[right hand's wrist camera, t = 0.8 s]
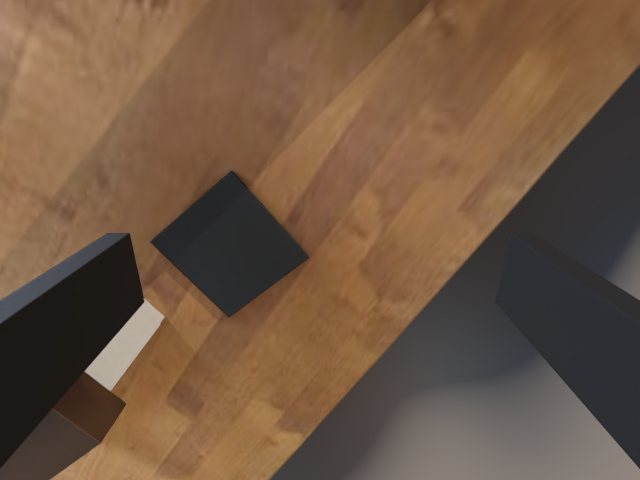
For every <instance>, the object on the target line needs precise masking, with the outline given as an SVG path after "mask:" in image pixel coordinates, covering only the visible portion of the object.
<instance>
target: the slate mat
mask: <svg viewBox="0 0 640 480" xmlns="http://www.w3.org/2000/svg"><path fill="white" fill-rule="evenodd" d="M151 243H152V244H153V245H154V246H155V247H156V248H157V249H158V250H159V251H160V252H161V253H162V254H163V255H164V256H165V257H166V258H167V259H168V260H169V261H171V262H172V263H173V264H174V265H175V266H176V267H177V268H178V269H179V270H180V271H181V272H182V273H183V274H184V275H185V276H186V277H187V278H188V279H189V280H190V281H191V282H192V283H193V284H195V285H196V286H197V287H198V288H199V289H200V290H201V291H202V292H203V293H204V294H205V295H206V296H207V297H208V298H209V299H210V300H211V301H212V302H213V303H214V304H215V305H216V306H217V307H219V308H220V309H221V310H222V311H223V312H224V313H225V314H226V315H227V316H228V317H230V316H231V315H233V314H234V313H236V312H237V311H238V310H240V309H241V308H242V307H244V306H245V305H246V304H248V303H249V302H250V301H252V300H253V299H254V298H256V297H257V296H258V295H260V294H261V293H262V292H264V291H265V290H266V289H268V288H269V287H270V286H272V285H273V284H274V283H276V282H277V281H278V280H280V279H281V278H283V277H284V276H285V275H287V274H288V273H289V272H291V271H292V270H293V269H295V268H296V267H297V266H299V265H300V264H301V263H303V262H304V261H305V260H307V259H308V258H309V256H308V255H307V254H306V253H305V252H304V251H303V250H302V249H301V248H300V246H299V245H298V244H297V243H296V242H295V241H294V240H293V239H292V237H291V236H290V235H289V234H288V233H287V232H286V231H285V230H284V228H283V227H282V226H281V225H280V224H279V223H278V222H277V221H276V219H275V218H274V217H273V216H272V215H271V214H270V213H269V212H268V210H267V209H266V208H265V207H264V206H263V205H262V204H261V203H260V201H259V200H258V199H257V198H256V197H255V196H254V195H253V194H252V192H251V191H250V190H249V189H248V188H247V187H246V186H245V185H244V183H243V182H242V181H241V180H240V179H239V178H238V177H237V176H236V174H235V173H234V172H233V171H231V172H229V173H228V174H227V175H226V176H225V177H224V178H223V179H221V180H220V181H219V182H218V183H217V184H216V185H215V186H213V187H212V188H211V189H210V190H209V191H208V192H207V193H206V194H204V195H203V196H202V197H201V198H200V199H199V200H198V201H196V202H195V203H194V204H193V205H192V206H191V207H190V208H188V209H187V210H186V211H185V212H184V213H183V214H182V215H180V216H179V217H178V218H177V219H176V220H175V221H174V222H172V223H171V224H170V225H169V226H168V227H167V228H166V229H164V230H163V231H162V232H161V233H160V234H159V235H158V236H156V237H155V238H154V239H153V240H152V241H151Z"/></svg>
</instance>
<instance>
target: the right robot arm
mask: <svg viewBox="0 0 640 480" xmlns="http://www.w3.org/2000/svg"><path fill="white" fill-rule="evenodd" d="M143 303H144V297H143V293H142V288H141V283H140V279H139V274H138V270H137V265H136V260H135V256H134V251H133V246H132V242H131V237H130V233H107V234H105V235H104V236H102V237H100V238H99V239H97V240H96V241H94V242H93V243H91V244H89V245H88V246H86V247H85V248H83V249H81V250H80V251H78V252H77V253H75V254H73V255H72V256H70V257H69V258H67V259H65V260H64V261H62V262H61V263H59V264H58V265H56V266H54V267H53V268H51V269H50V270H48V271H46V272H45V273H43V274H42V275H40V276H38V277H37V278H35V279H34V280H32V281H31V282H29V283H27V284H26V285H24V286H23V287H21V288H19V289H18V290H16V291H15V292H13V293H11V294H10V295H8V296H7V297H5V298H3V299H2V300H0V468H1V467H2V466H3V465H4V464H5V463H6V462H7V460H8V459H9V458H10V457H11V456H12V455H13V453H14V452H15V451H16V450H17V449H18V448H19V446H20V445H21V444H22V443H23V442H24V441H25V440H26V438H27V437H28V436H29V435H30V434H31V433H32V431H33V430H34V429H35V428H36V427H37V426H38V425H39V423H40V422H41V421H42V420H43V419H44V418H45V416H46V415H47V414H48V413H49V412H50V411H51V410H52V408H53V407H54V406H55V405H56V404H57V403H58V401H59V400H60V399H61V398H62V397H63V396H64V395H65V393H66V392H67V391H68V390H69V389H70V388H71V386H72V385H73V384H74V383H75V382H76V381H77V380H78V378H79V377H80V376H81V375H82V374H83V373H84V371H85V370H86V369H87V368H88V367H89V366H90V364H91V363H92V362H93V361H94V360H95V359H96V358H97V356H98V355H99V354H100V353H101V352H102V351H103V349H104V348H105V347H106V346H107V345H108V344H109V343H110V341H111V340H112V339H113V338H114V337H115V336H116V334H117V333H118V332H119V331H120V330H121V329H122V328H123V326H124V325H125V324H126V323H127V322H128V321H129V319H130V318H131V317H132V316H133V315H134V314H135V313H136V311H137V310H138V309H139V308H140V307H141V306H142V304H143ZM496 303H497V304H498V306H499V307H500V308H501V309H502V310H503V311H504V313H505V314H506V315H507V316H508V317H509V318H510V319H511V321H512V322H513V323H514V324H515V325H516V326H517V327H518V329H519V330H520V331H521V332H522V333H523V334H524V336H525V337H526V338H527V339H528V340H529V341H530V343H531V344H532V345H533V346H534V347H535V348H536V349H537V351H538V352H539V353H540V354H541V355H542V356H543V358H544V359H545V360H546V361H547V362H548V363H549V364H550V366H551V367H552V368H553V369H554V370H555V371H556V373H557V374H558V375H559V376H560V377H561V378H562V380H563V381H564V382H565V383H566V384H567V385H568V386H569V388H570V389H571V390H572V391H573V392H574V393H575V395H576V396H577V397H578V398H579V399H580V400H581V401H582V403H583V404H584V405H585V406H586V407H587V408H588V410H589V411H590V412H591V413H592V414H593V415H594V416H595V418H596V419H597V420H598V421H599V422H600V423H601V425H602V426H603V427H604V428H605V429H606V430H607V431H608V433H609V434H610V435H611V436H612V437H613V438H614V440H615V441H616V442H617V443H618V444H619V445H620V447H621V448H622V449H623V450H624V451H625V452H626V453H627V455H628V456H629V457H630V458H631V459H632V460H633V461H634V463H635V464H636V465H637V466H638V467H639V468H640V300H638V299H636V298H635V297H633V296H632V295H630V294H628V293H627V292H625V291H624V290H622V289H621V288H619V287H617V286H616V285H614V284H613V283H611V282H609V281H608V280H606V279H605V278H603V277H602V276H600V275H598V274H597V273H595V272H594V271H592V270H590V269H589V268H587V267H586V266H584V265H582V264H581V263H579V262H578V261H576V260H574V259H573V258H571V257H570V256H568V255H567V254H565V253H563V252H562V251H560V250H559V249H557V248H555V247H554V246H552V245H551V244H549V243H547V242H546V241H544V240H543V239H541V238H539V237H538V236H536V235H535V234H533V233H510V237H509V242H508V246H507V251H506V256H505V261H504V265H503V270H502V274H501V279H500V284H499V288H498V293H497V297H496Z"/></svg>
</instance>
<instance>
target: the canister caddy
mask: <svg viewBox="0 0 640 480" xmlns="http://www.w3.org/2000/svg"><path fill="white" fill-rule="evenodd" d="M164 318H165V316H163V315H162V314H161V313H160V312H159V311H158V310H157V309H156V308H155V307H153V306H152V305H151V304H150V303H149V302H148V301H147V300H146V299H144V303H143V304H142V306H141V307H140V308H139V309H138V310H137V311H136V313H135V314H134V315H133V316H132V317H131V318H130V319H129V321H128V322H127V323H126V324H125V325H124V326H123V328H122V329H121V330H120V331H119V332H118V333H117V334H116V336H115V337H114V338H113V339H112V340H111V341H110V343H109V344H108V345H107V346H106V347H105V348H104V349H103V351H102V352H101V353H100V354H99V355H98V356H97V358H96V359H95V360H94V361H93V362H92V363H91V364H90V366H89V367H88V368H87V369H86V370H85V372H86V373H87V374H89V375H90V376H91V377H92V378H94V379H95V380H96V381H98V382H99V383H100V384H102V385H103V386H104V387H105V388H107V389H108V390H109V391H111V390H112V389H113V387H114V386H115V385H116V383H117V382H118V381H119V379H120V378H121V377H122V375H123V374H124V373H125V371H126V370H127V369H128V367H129V366H130V365H131V363H132V362H133V361H134V359H135V358H136V357H137V355H138V354H139V353H140V351H141V350H142V349H143V347H144V346H145V345H146V343H147V342H148V341H149V339H150V338H151V337H152V335H153V334H154V333H155V331H156V330H157V329H158V327H159V326H160V325H161V324H160V323H161V322H162V320H163V319H164Z"/></svg>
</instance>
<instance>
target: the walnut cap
mask: <svg viewBox="0 0 640 480" xmlns="http://www.w3.org/2000/svg"><path fill="white" fill-rule="evenodd" d="M125 405H126V403H125V402H123V401H122V400H121V399H120V398H118V397H117V396H116V395H114V394H113V393H112V392H111V391H109V390H108V389H107V388H105V387H104V386H103V385H102V384H100V383H99V382H98V381H96V380H95V379H94V378H92V377H91V376H90V375H89V374H87V373H86V372H85V371H84V373H83V374H82V375H81V376H80V377H79V378H78V380H77V381H76V382H75V383H74V384H73V385H72V386H71V388H70V389H69V390H68V391H67V392H66V393H65V395H64V396H63V397H62V398H61V399H60V400H59V401H58V403H57V404H56V405H55V406H54V407H53V408H52V410H51V411H50V412H49V413H48V414H47V415H46V416H45V418H44V419H43V420H42V421H41V422H40V423H39V425H38V426H37V427H36V428H35V429H34V430H33V431H32V433H31V434H30V435H29V436H28V437H27V438H26V440H25V441H24V442H23V443H22V444H21V445H20V446H19V448H18V449H17V450H16V451H15V452H14V453H13V455H12V456H11V457H10V458H9V459H8V460H7V462H6V463H5V464H4V465H3V466H2V467H1V468H0V480H50V479H51V478H53V477H54V476H55V475H57V474H58V473H60V472H61V471H62V470H64V469H65V468H67V467H68V466H69V465H71V464H72V463H74V462H75V461H76V460H78V459H79V458H81V457H82V456H83V455H85V454H86V453H88V452H89V451H90V450H92V449H93V448H95V447H96V446H97V445H99V444H100V443H101V442H102V440H103V439H104V437H105V436H106V434H107V433H108V431H109V430H110V428H111V427H112V425H113V424H114V422H115V421H116V419H117V417H118V416H119V414H120V413H121V411H122V410H123V408H124V407H125Z"/></svg>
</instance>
